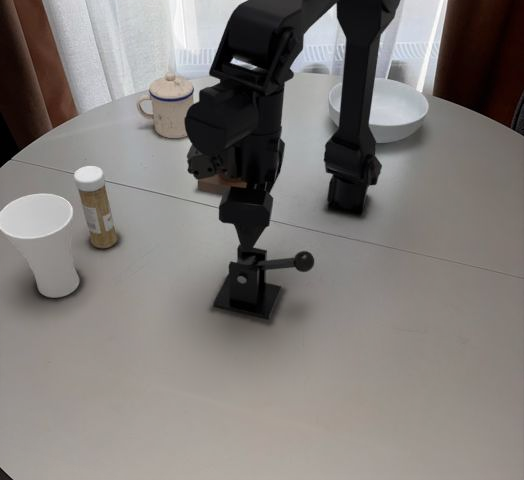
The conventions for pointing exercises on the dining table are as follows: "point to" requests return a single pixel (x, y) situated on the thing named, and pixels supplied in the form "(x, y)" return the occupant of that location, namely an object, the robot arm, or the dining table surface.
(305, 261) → the lever
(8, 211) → the cup
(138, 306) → the dining table surface
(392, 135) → the serving bowl
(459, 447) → the dining table surface
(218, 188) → the switch block
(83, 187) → the sprinkles bottle
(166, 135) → the teacup with lid
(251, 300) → the bracket
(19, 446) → the dining table surface
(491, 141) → the dining table surface
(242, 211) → the robot arm
